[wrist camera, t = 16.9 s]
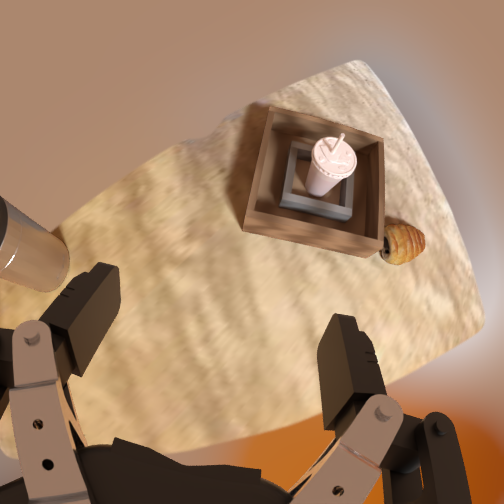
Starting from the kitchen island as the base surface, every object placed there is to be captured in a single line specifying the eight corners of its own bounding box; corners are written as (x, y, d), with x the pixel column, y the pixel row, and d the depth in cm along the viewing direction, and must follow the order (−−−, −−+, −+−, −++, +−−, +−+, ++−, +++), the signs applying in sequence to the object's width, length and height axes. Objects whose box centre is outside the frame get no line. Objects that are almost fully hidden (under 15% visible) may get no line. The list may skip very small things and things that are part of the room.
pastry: (414, 223, 50) (426, 216, 47) (424, 259, 49) (437, 254, 45) (372, 230, 49) (383, 222, 45) (383, 269, 47) (394, 264, 44)
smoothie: (306, 163, 50) (332, 109, 36) (340, 182, 49) (375, 134, 36) (290, 191, 48) (314, 140, 34) (325, 212, 47) (361, 168, 34)
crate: (242, 231, 46) (245, 215, 41) (264, 127, 52) (269, 106, 46) (365, 258, 47) (383, 248, 41) (369, 156, 53) (383, 138, 47)
